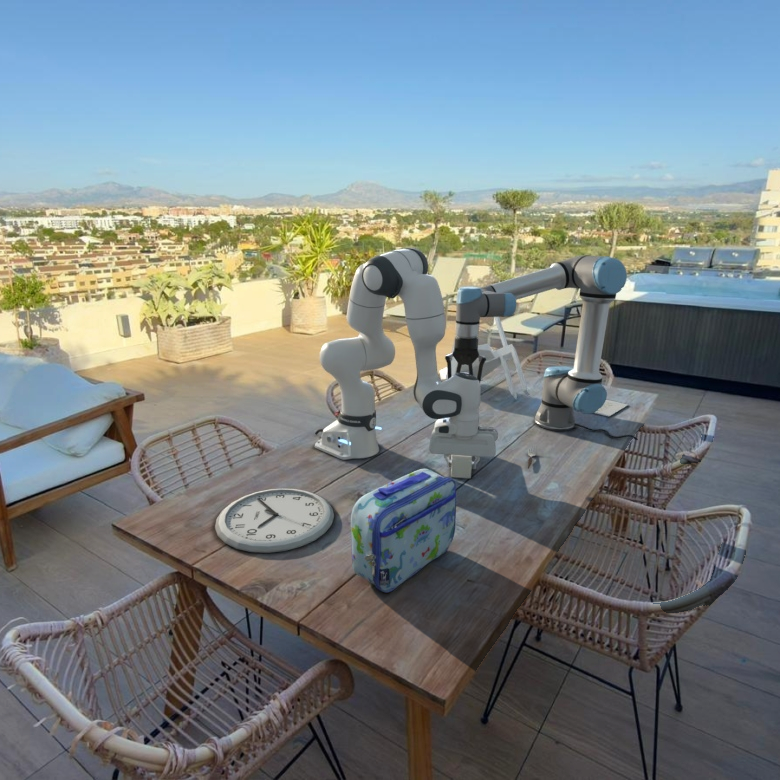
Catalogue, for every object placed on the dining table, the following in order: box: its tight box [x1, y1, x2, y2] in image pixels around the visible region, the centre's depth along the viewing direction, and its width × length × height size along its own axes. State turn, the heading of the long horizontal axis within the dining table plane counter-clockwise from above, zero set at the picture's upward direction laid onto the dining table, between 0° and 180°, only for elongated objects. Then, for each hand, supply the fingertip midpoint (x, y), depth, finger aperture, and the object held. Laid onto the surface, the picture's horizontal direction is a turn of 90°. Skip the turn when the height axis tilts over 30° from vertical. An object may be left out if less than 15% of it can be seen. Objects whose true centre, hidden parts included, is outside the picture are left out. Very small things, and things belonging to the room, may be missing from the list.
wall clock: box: [214, 488, 335, 554], centre depth 135 cm, size 30×2×30 cm
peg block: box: [450, 455, 473, 479], centre depth 170 cm, size 6×24×6 cm, turn 173°
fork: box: [527, 445, 537, 469], centre depth 172 cm, size 3×16×2 cm, turn 160°
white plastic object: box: [438, 317, 531, 400], centre depth 245 cm, size 37×45×31 cm
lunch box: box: [350, 468, 457, 593], centre depth 114 cm, size 26×11×21 cm, turn 134°
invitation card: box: [593, 399, 629, 418], centre depth 226 cm, size 21×1×15 cm
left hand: (461, 467), depth 162 cm, fingers closed on peg block, 6 cm apart
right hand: (462, 405), depth 174 cm, fingers closed on walnut peg, 3 cm apart
